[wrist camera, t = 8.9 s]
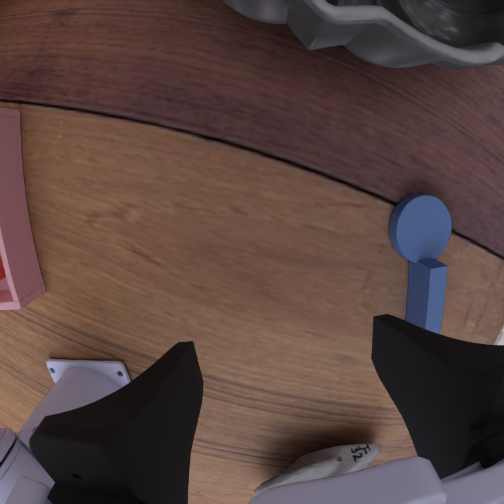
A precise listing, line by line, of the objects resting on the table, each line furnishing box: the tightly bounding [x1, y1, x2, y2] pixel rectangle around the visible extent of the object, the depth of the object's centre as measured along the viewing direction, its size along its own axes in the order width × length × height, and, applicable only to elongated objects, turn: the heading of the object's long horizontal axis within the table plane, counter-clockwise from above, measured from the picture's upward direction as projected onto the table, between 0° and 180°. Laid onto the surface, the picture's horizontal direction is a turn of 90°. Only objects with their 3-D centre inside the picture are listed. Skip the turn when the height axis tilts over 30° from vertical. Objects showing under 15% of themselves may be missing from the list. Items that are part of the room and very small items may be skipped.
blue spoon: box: [389, 193, 451, 334], centre depth 18 cm, size 11×5×3 cm, turn 7°
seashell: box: [254, 443, 380, 496], centre depth 22 cm, size 12×6×10 cm
